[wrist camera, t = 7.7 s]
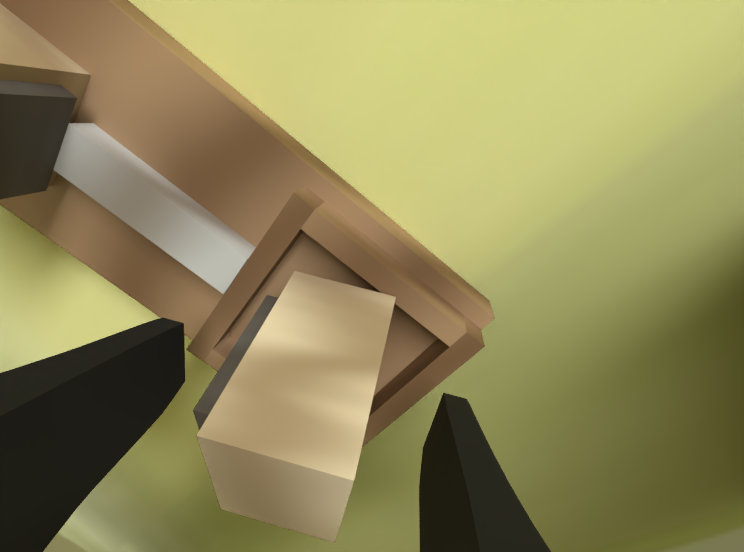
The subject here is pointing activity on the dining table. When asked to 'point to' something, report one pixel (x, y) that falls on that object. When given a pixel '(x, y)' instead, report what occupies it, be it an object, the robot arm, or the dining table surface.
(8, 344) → the dining table surface
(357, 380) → the block
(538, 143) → the dining table surface
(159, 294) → the rail base
